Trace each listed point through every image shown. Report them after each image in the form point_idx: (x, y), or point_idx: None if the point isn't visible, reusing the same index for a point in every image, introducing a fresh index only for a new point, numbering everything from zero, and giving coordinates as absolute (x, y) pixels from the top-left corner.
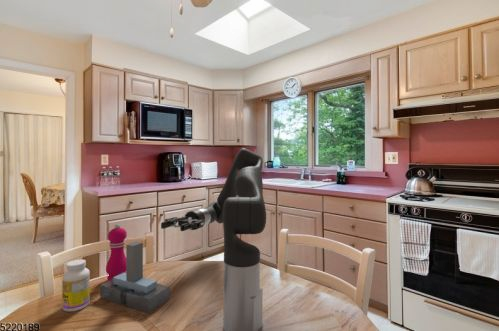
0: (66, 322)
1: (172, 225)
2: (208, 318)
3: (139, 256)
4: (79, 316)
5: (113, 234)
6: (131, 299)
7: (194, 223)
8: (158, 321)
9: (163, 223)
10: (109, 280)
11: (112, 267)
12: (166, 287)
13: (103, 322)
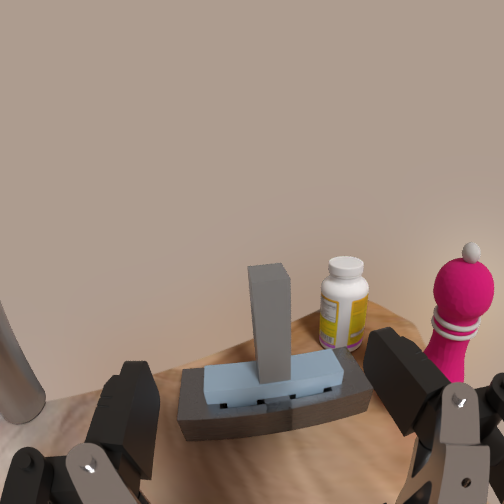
0: (296, 326)
1: (413, 462)
2: (71, 412)
3: (253, 317)
4: (298, 337)
5: (440, 269)
6: None
7: (35, 452)
8: (155, 383)
9: (375, 339)
10: None
11: None
12: (180, 414)
13: (245, 349)
